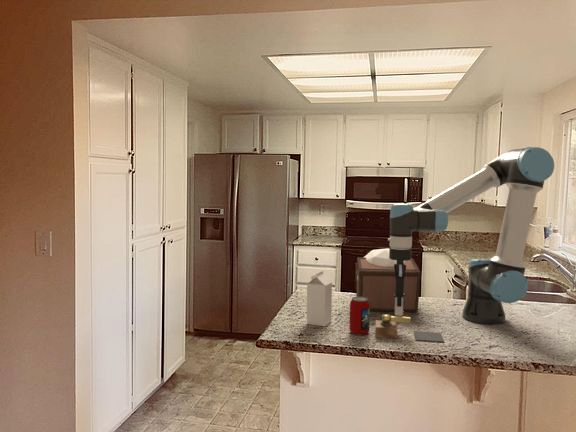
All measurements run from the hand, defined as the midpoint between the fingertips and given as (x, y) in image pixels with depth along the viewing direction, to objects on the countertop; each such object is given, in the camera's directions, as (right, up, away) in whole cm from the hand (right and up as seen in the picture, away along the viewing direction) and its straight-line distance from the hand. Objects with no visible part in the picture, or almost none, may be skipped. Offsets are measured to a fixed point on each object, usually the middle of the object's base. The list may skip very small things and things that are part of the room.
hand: (398, 314), depth 163 cm
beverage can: (-14, -6, -3) cm, 16 cm away
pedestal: (-5, -6, -4) cm, 9 cm away
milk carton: (-27, -5, +8) cm, 29 cm away
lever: (-2, -1, -5) cm, 6 cm away
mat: (+8, -6, -7) cm, 12 cm away
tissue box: (+2, -3, +35) cm, 35 cm away
